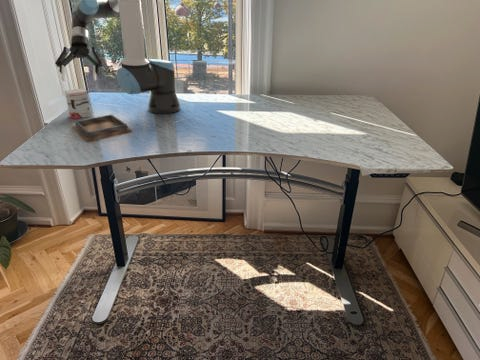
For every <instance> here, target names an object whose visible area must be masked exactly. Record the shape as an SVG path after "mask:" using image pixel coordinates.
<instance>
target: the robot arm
mask: <svg viewBox="0 0 480 360" xmlns="http://www.w3.org/2000/svg"><path fill="white" fill-rule="evenodd" d="M141 4H142V2H141V0H79V1H78V5H77V7H76V8H74V9H73V10H72V13H71V14H72V15H71V35H70V36H71V38H70V39H71V40H70V41H71V43H70V48H69V47H68V48H67V47H66V46H63V49H62V51H61V53H60V55H59V56H58V57H57V59H56V61H55V66H56V67H57V68H59V73H60V74H61V80H62V81H63V82H66V72H67V71H66V70H67V69H66V66H68V64H69V63H70V62H72V61H73V60H75V59H76V58H77V59H79V58H80V59H84V58H86V59H87V60H88V61H89V62H90V63H91V64H92V70H93V71H92V78H93V80H94V81H95V82H97V75H98V74H99V72H100V68H103V67H104V65H103V62H102V61H101V59H100V57H99V55H98V54H97V51H96V50H97V49H96V47H95V46H93V47H91V48H90V47H89V46H90V41H89V40H90V25H91V23H92V21H93V20H94V19H110V18H111V19H118V18H119V21H120V30H121V39H122V41H121V42H122V49H123V59H122V60H121V62H120V65H121V67H119V68H118V69H117V70H116V77H117V82H118V85H119V86H120V88H121V89H122V90H123V91H124V93H126V94H128V95H138V94H144V93H148V92H150V96H149V100H148V110H149V112H150V113H154V114H159V115H160V114H162V115H166V114H173V113H176V111H177V112H178V110H179V109H180V110H181V104H180V100H179V99H178V96H177V93H176V79H175V78H176V77H175V71H176V70H175V66H174V63H173V62H172V61H170V60H165V59H159V58H158V59H157V58H156V59H155V58H149V59H147V58H146V54H145V53H146V51H145V43H144V42H145V40H144V27H143V16H142V5H141ZM89 53H91V54H93V56H94V59H95V60H94V59H93V57H92V56H91V55H90V54H89ZM180 110H179V111H180ZM172 112H173V113H172Z"/></svg>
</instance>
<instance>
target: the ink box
mask: <svg viewBox="0 0 480 360" xmlns="http://www.w3.org/2000/svg"><path fill="white" fill-rule="evenodd" d="M64 93H65V99H66V104H67V109H68V113H69V116H70V118H71V120H76V119H84V118H90V117H91V118H92V116H93V115H92V110H91V103H90V99H89V95H88V91H87V89H86V88H84V87H83V88H76V89H67V90H65V91H64Z"/></svg>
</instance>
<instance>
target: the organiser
mask: <svg viewBox="0 0 480 360" xmlns="http://www.w3.org/2000/svg"><path fill="white" fill-rule="evenodd" d="M71 128H72V129H73V130H74V131H75V132H76V133H77V134H79V136H81V138H83V140H85V141H86V142H93V141H97V140H100V139H106V138H110V137H114V136H119V135H123V134H127V133H129V134H130V133H131V132H132V133H133V130H132V128H130V127H128V124H127V123H125V122H124V121H122V119H120V118H118V117H117V116H116V115H114V114H108V115H102V116H96V117H91V118H90V117H89V118H86V119H82V120H75V121H74V124H73V125H71Z"/></svg>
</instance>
